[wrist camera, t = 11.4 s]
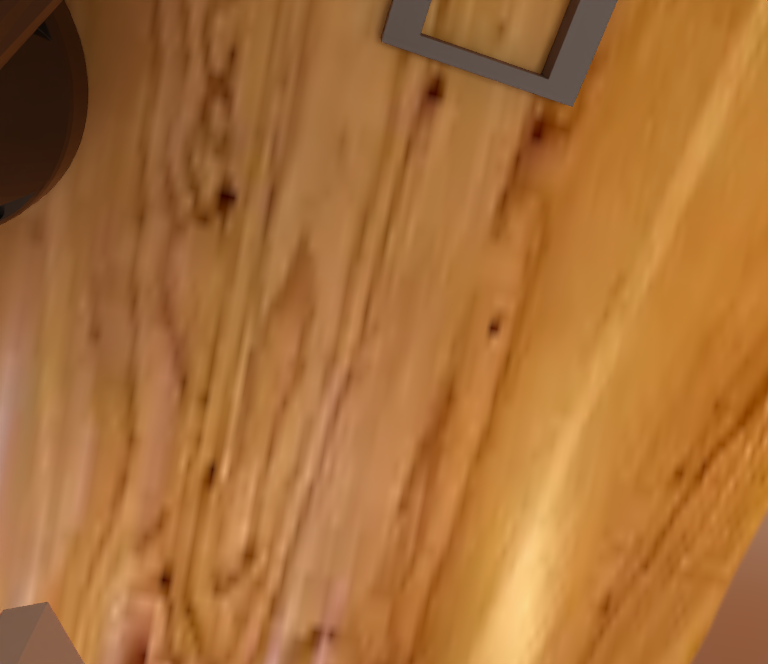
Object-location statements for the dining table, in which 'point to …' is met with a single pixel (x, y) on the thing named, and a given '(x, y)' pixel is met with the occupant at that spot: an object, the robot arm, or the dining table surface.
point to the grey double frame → (555, 82)
